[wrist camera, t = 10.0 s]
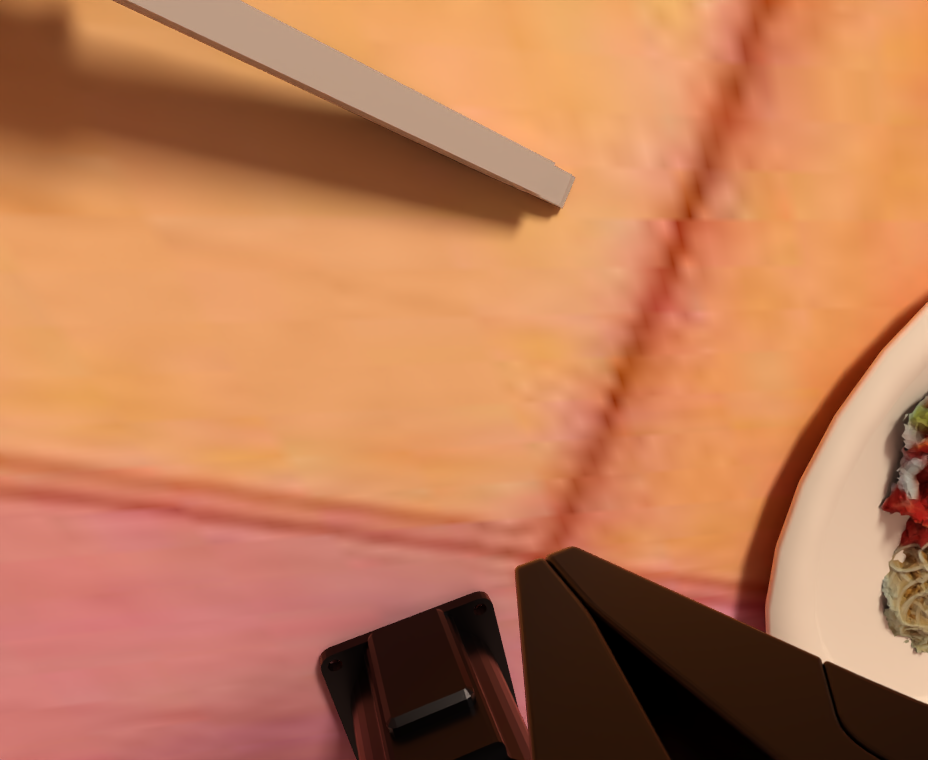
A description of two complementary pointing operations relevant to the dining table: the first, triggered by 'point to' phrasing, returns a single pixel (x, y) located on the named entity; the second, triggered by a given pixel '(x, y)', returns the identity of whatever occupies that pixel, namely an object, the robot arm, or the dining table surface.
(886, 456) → the plated food
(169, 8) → the caliper
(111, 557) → the dining table surface
